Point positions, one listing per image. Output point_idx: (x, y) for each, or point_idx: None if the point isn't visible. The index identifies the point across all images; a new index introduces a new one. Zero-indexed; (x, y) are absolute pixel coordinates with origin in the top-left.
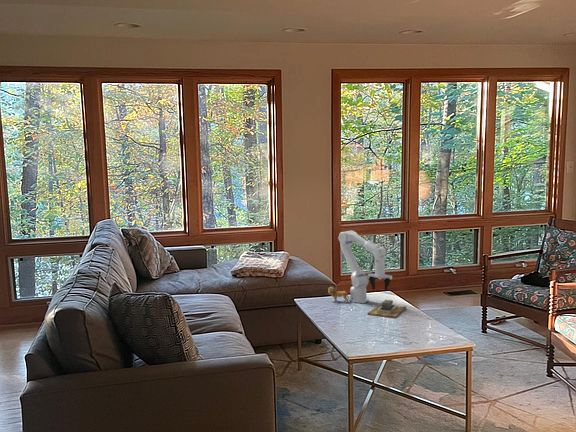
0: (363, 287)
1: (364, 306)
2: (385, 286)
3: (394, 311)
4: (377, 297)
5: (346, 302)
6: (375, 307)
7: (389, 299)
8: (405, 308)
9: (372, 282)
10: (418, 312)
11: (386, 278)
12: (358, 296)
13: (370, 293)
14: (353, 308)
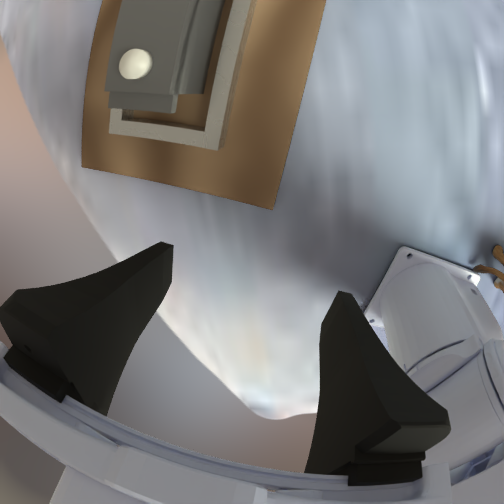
0: (436, 359)
1: (401, 168)
2: (128, 271)
3: None
4: (304, 366)
5: (501, 248)
6: (300, 92)
7: (121, 72)
8: (84, 146)
9: (373, 370)
10: (33, 114)
11: (43, 385)
12: (451, 289)
13: None
14: (474, 111)
